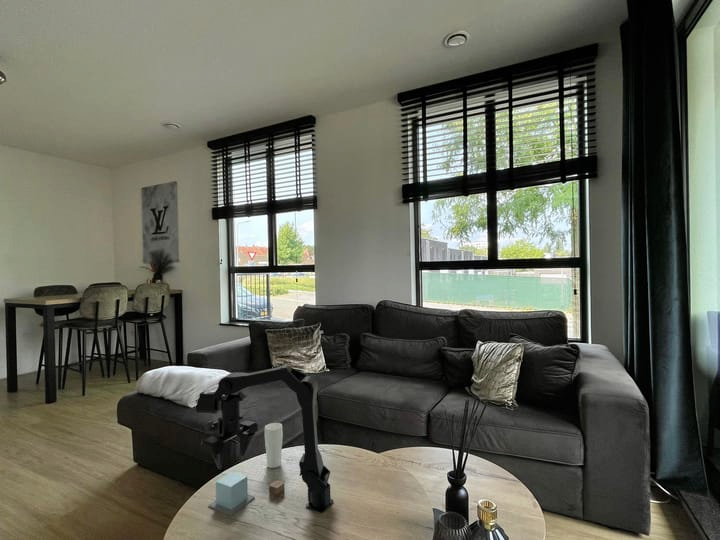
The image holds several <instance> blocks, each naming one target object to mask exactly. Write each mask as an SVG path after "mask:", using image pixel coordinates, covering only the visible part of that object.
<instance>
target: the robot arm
mask: <svg viewBox="0 0 720 540" xmlns="http://www.w3.org/2000/svg"><path fill="white" fill-rule="evenodd" d="M278 381H282V382H283V383H285V384H286V386H287V387H288V388H289V389H290V390H291V391H292V392H294V393H295V395H296V398H297V402H298V405H299V407H300V409H301V416H302V418H301V419H302V432H303V446H304V453H302V456H301V458H300V459H299V462H298V466H299V470H300V471H299V476H300V477H301V478H302V479H301V480H302V482H304V483H305V484H306V486H307V501H308V502H307V503H306V504H305V507H306V508H307V509H309V510H313V511H316V512H319V513H321V514H322V513H324V512H325V511H326V510H327V509H328V508H329V507H330V506H331V505H332V504H333V503H334V499H332V497H331V484H330V483H329V478H330V474H331V470H329V469H328V468H327V467H326V466H325V465H324V461H323V458H322V454H321V452H320V450H319V445H318V443H319V442H318V430H317V417H316V416H317V415H316V401H317V400H316V399H317V395H318V388H319V387H318V386H319V385H318V380H317V379H316V378H315V377H314V376H312V375H310V376H309V375H308V374H306V373H304V372H302V371H301V370H297V369H295V368H294V367H292V366H291V365H288V364H284V365H282V366H277V367H274V368H268V369H264V370H263V369H262V370H259V371H254V372H250V373H249V372H240V371H239V372H238V371H237V372H231V373H228V374H227V375H226V376H223V377H222V378H220V380H219V382H218V384H217V385H218V386H217V388H216V390H215V391H214V392H213V391H212V392H211V391H202V392H200V393H199V397H198V399H197V402H196V405H195V410H196V414H198V415H200V414H201V415H217V414H218V413H219V411H220V415H221V416H220V417H218V418H217V420H216V421H212V420H211V421H207V422H205V423H204V431H205V434H209V433H210V435H212V436H210V437H208V438H205V439H203V440H202V441H201V443H200V451H203V452H206V453H210V454H211V456H212V458H213V460H214V462H215V465H216V467H217V469H218V470H222V468H223V462H224V455H225V448H224V446H225V442H227V441H229V440H231V439H233V438H235V437H237V436H238V438H239V452H240V453H239V454H240V457H244V456H245V454H246V452H247V450H248V448H249V445H250V444H251V441H252V439H253V437H254V436H255V435H256V433H257V432H258V430H259V426H258V423H257V422H256V421H252V420H247V419H246V420H244V419H243V418H244V415H241V402H242V401H244V400H245V399H246V398H247V395H246V394H245V393H243V392H242V390H243V389H247V388H249V387H253V386H254V387H255V386H259V385H264V384H269V383H274V382H278ZM241 420H244V421H241ZM215 433H216V435H219V437H217V436H213V434H215ZM220 435H221V436H220Z"/></svg>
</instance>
